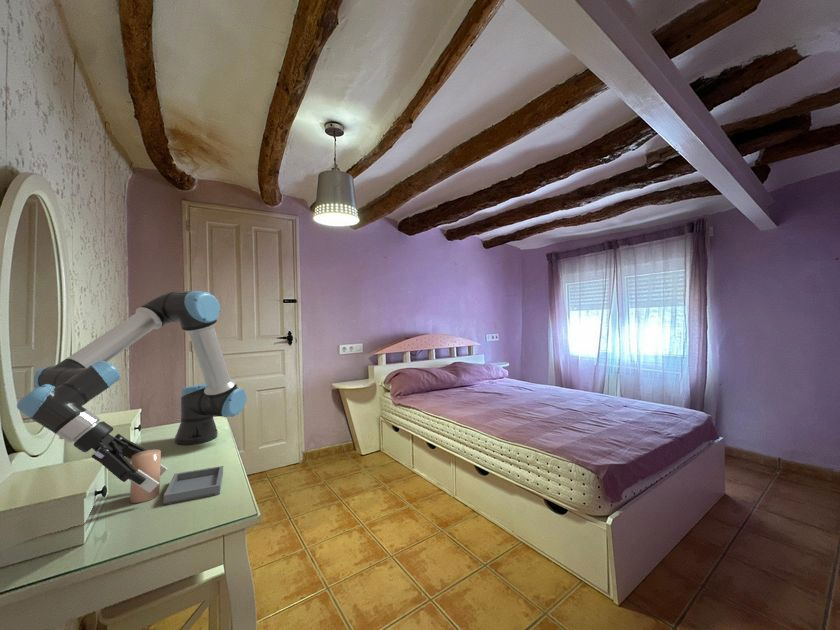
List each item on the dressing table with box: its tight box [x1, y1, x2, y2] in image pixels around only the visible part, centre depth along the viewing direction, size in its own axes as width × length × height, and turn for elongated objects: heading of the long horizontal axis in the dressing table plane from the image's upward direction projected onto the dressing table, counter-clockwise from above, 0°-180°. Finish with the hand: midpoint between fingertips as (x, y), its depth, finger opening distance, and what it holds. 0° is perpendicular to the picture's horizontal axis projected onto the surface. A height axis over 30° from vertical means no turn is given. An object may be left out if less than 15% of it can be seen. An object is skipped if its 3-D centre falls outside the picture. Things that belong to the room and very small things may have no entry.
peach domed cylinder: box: [129, 449, 162, 504], centre depth 94 cm, size 6×6×12 cm
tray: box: [162, 465, 224, 506], centre depth 99 cm, size 15×13×2 cm
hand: (159, 479), depth 95 cm, fingers open, 10 cm apart
